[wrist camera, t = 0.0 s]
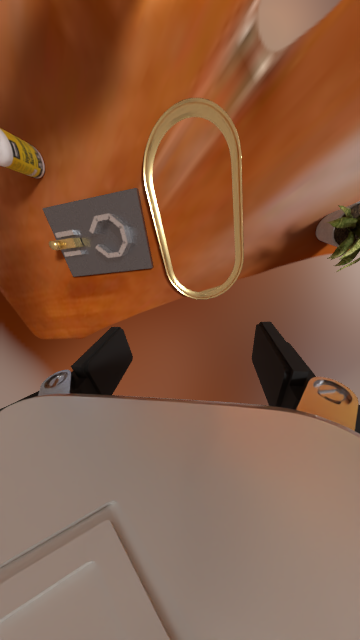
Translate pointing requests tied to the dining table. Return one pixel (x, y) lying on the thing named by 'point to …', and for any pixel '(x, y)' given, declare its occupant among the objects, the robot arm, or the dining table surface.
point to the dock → (103, 233)
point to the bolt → (65, 244)
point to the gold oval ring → (226, 126)
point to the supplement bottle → (20, 155)
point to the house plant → (342, 233)
